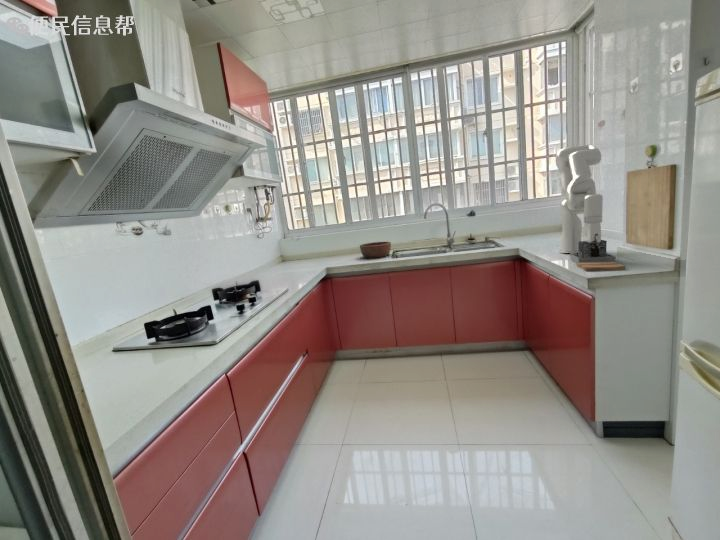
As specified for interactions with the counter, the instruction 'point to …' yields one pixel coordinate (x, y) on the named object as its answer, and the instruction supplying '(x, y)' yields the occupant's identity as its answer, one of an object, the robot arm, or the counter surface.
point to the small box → (586, 249)
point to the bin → (593, 258)
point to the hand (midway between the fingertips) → (592, 254)
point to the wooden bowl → (375, 249)
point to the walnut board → (600, 266)
